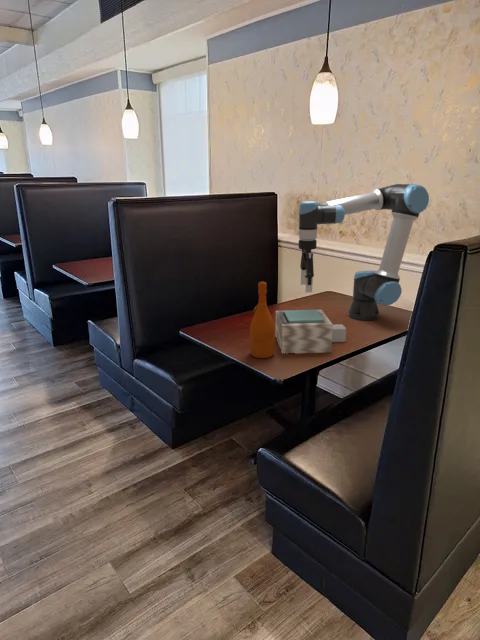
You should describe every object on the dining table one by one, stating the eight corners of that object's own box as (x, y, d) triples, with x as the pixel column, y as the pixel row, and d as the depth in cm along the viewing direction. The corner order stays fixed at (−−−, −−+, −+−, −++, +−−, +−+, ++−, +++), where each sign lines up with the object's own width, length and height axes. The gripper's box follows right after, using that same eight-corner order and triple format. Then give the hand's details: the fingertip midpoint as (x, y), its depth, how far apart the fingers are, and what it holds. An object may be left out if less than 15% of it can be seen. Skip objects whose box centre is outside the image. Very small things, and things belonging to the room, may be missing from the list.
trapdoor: (315, 311, 187) (315, 309, 187) (323, 322, 174) (323, 319, 174) (283, 312, 186) (283, 310, 186) (288, 323, 173) (289, 320, 173)
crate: (319, 335, 194) (321, 308, 190) (331, 352, 175) (332, 323, 171) (275, 336, 193) (275, 309, 189) (282, 353, 174) (282, 324, 170)
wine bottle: (271, 349, 179) (272, 278, 169) (277, 358, 170) (277, 284, 160) (248, 350, 178) (247, 279, 168) (252, 360, 168) (251, 285, 159)
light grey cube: (341, 336, 191) (342, 324, 190) (345, 341, 186) (346, 328, 184) (328, 337, 191) (328, 324, 189) (331, 342, 186) (332, 329, 184)
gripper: (294, 235, 194) (293, 281, 201) (303, 244, 170) (302, 295, 177) (311, 235, 194) (309, 281, 201) (322, 243, 170) (320, 295, 177)
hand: (306, 288), depth 189 cm, fingers open, 13 cm apart
